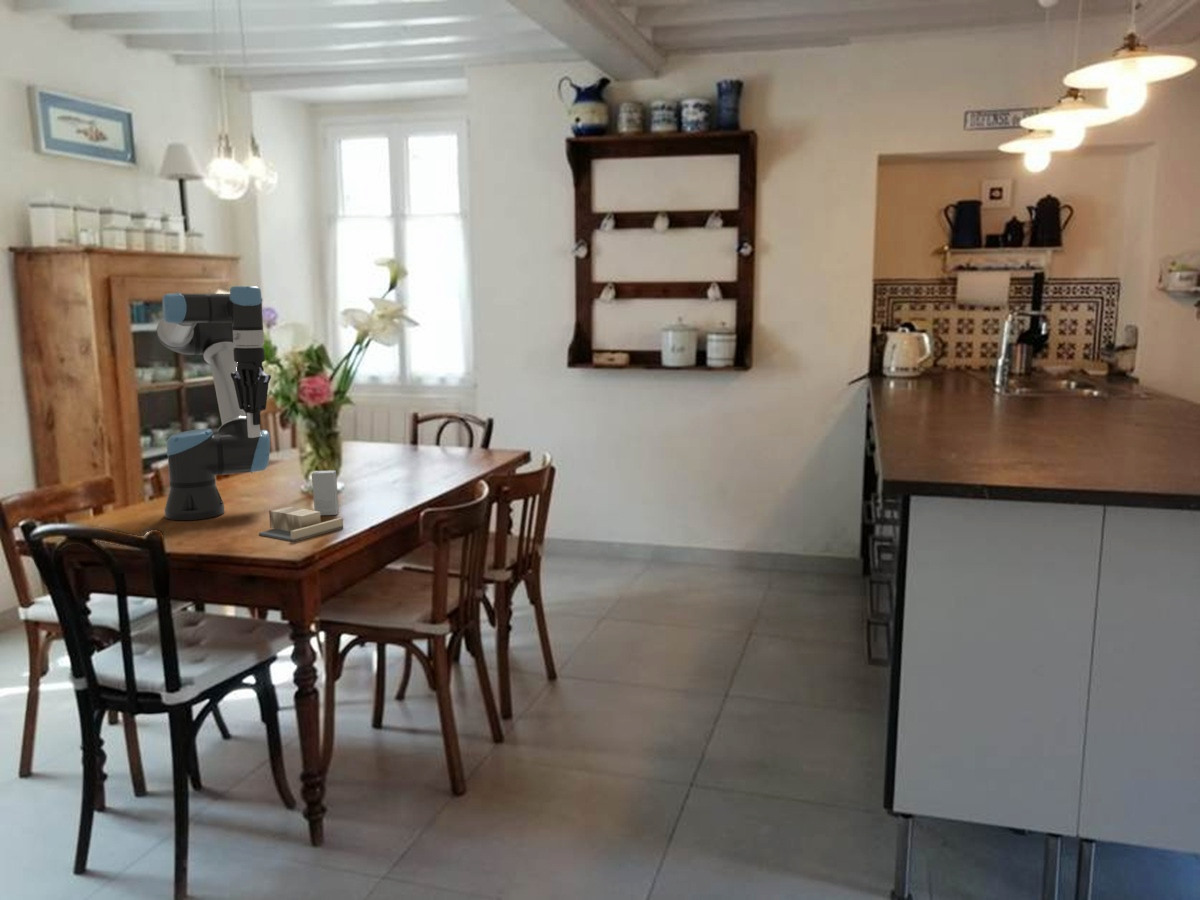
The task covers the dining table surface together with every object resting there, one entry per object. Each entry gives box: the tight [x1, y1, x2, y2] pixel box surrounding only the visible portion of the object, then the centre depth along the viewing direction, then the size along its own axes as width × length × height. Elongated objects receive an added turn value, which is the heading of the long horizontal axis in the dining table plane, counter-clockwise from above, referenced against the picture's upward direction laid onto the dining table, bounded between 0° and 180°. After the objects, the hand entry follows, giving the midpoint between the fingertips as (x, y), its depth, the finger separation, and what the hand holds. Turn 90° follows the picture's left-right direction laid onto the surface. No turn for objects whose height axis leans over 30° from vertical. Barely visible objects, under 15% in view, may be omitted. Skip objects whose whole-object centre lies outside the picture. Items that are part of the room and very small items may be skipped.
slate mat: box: [258, 517, 344, 543], centre depth 234 cm, size 13×16×3 cm
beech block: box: [268, 506, 322, 531], centre depth 234 cm, size 4×6×12 cm
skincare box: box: [311, 470, 340, 516], centre depth 252 cm, size 6×4×12 cm
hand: (254, 436), depth 239 cm, fingers closed
